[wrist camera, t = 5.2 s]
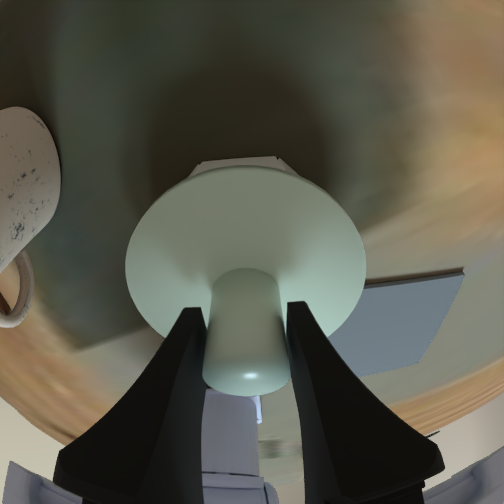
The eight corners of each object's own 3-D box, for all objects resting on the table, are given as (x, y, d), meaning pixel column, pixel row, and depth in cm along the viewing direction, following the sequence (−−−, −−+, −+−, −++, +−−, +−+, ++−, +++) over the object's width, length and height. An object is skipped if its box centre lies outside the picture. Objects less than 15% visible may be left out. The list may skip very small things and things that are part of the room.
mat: (416, 360, 23) (417, 363, 23) (310, 380, 24) (311, 384, 23) (462, 271, 17) (465, 274, 16) (328, 288, 17) (329, 292, 17)
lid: (352, 334, 14) (374, 407, 10) (178, 357, 15) (167, 428, 11) (361, 147, 9) (439, 200, 5) (96, 200, 10) (28, 272, 6)
